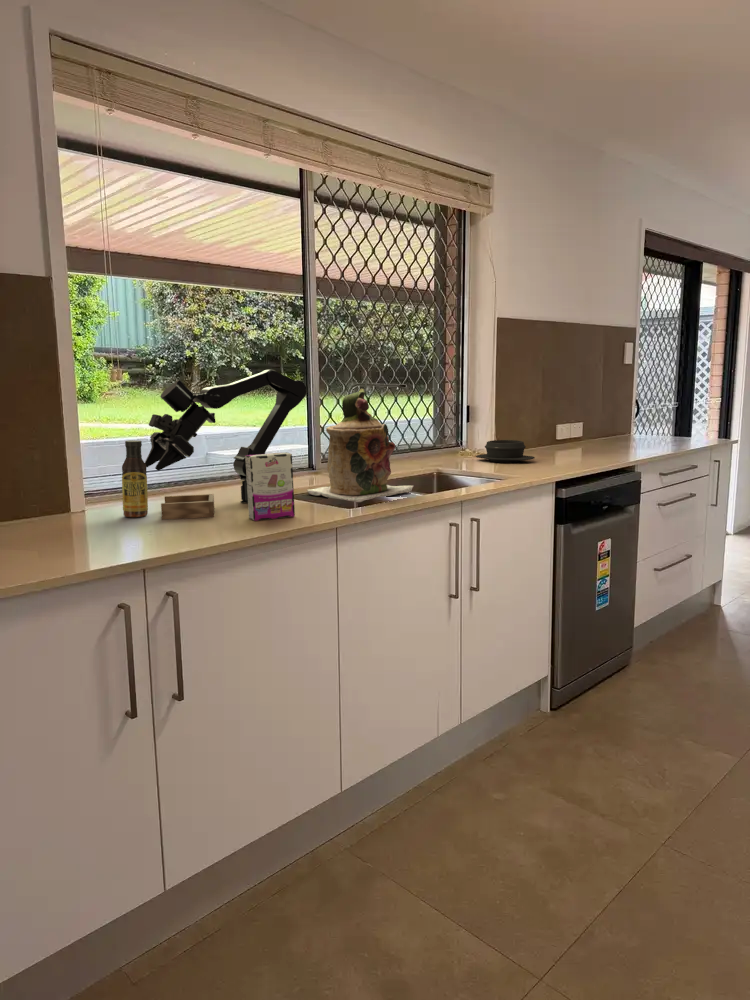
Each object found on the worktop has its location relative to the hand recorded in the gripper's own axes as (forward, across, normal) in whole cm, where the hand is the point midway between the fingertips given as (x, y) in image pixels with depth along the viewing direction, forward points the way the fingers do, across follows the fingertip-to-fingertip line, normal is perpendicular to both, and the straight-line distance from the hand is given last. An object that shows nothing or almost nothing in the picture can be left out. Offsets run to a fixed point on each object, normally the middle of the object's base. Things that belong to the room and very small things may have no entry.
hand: (150, 467), depth 186 cm
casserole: (-102, -23, +118) cm, 157 cm away
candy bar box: (-7, +24, +25) cm, 35 cm away
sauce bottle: (+12, 0, +6) cm, 13 cm away
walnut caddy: (+3, +5, +14) cm, 16 cm away
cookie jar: (-35, +7, +52) cm, 63 cm away
